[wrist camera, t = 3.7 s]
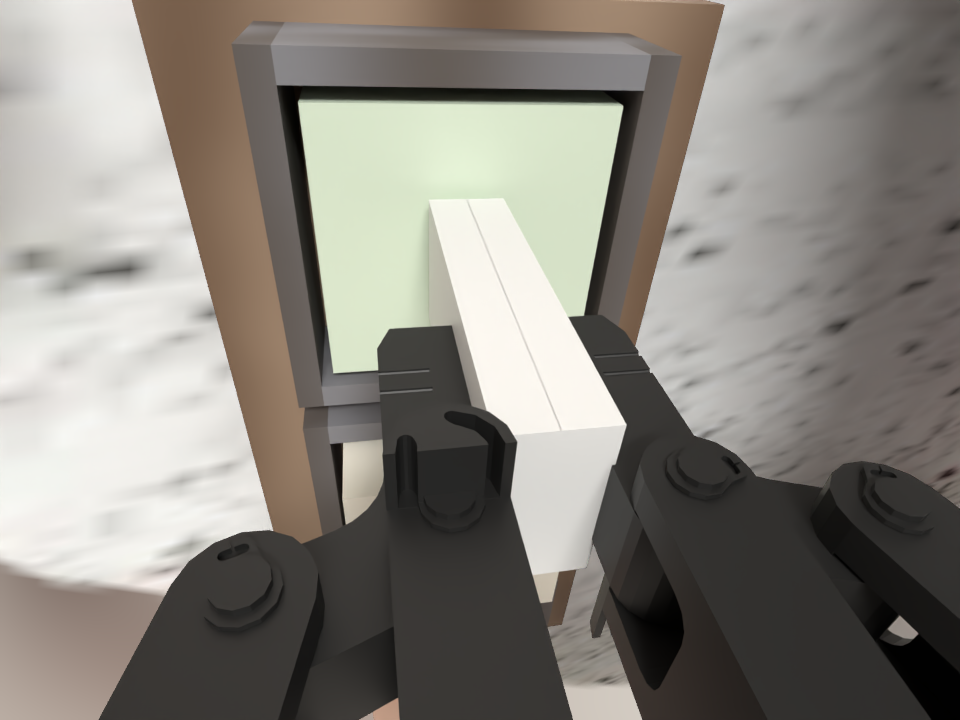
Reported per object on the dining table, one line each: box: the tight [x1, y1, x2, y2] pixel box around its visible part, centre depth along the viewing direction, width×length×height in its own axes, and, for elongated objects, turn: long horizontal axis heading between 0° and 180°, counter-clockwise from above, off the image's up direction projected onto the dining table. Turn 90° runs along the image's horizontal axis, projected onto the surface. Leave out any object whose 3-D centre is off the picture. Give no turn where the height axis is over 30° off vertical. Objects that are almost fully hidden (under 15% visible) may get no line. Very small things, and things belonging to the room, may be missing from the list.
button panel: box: [132, 0, 725, 627], centre depth 20 cm, size 12×26×6 cm, turn 177°
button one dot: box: [298, 86, 623, 373], centre depth 13 cm, size 6×6×2 cm
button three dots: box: [342, 439, 559, 603], centre depth 17 cm, size 6×6×2 cm
